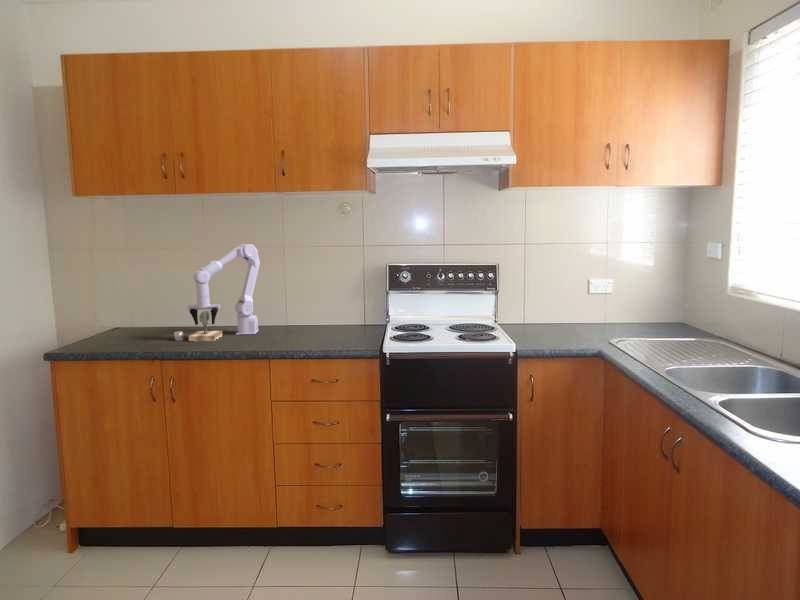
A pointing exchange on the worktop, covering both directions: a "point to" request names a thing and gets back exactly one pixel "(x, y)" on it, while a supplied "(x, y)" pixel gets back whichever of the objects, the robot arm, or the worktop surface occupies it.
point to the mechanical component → (204, 319)
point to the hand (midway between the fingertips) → (205, 324)
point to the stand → (205, 336)
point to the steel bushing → (178, 335)
